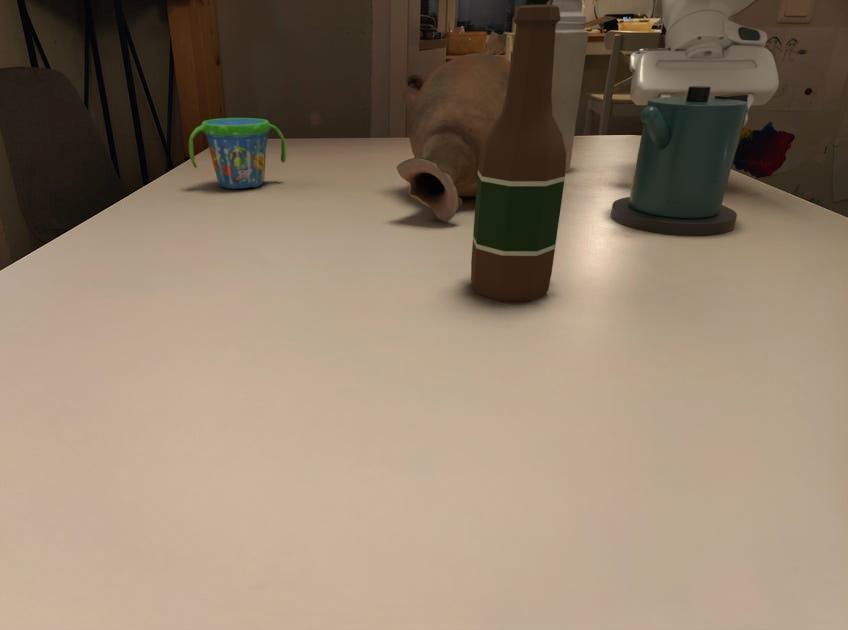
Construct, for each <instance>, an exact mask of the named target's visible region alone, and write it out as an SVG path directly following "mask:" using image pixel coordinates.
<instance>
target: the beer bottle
mask: <svg viewBox="0 0 848 630" xmlns="http://www.w3.org/2000/svg"><path fill="white" fill-rule="evenodd" d="M560 20H561V18H560V11H559V7H557V6H555V5H552V4H524V5H521V6H519V7H517V8H516V9H515V12H514V14H513V18H512V22H513V24H515V31H514V37H513V45H512V51H511V57H510V58H511V59H510V61H511V65H510V72H509V79H508V85H507V92H506V97H505V101H504V105H503V109H502V113H501V114H500V116H499V117H498V119H497V120H496V121H495V123H494V124H493V126H492V127H491V128H490V130H489V131H488V134H487V136H486V138H485V141H484V143H483V146H482V148H481V153H480V159H479V166H478V176H477V190H476V196H475V205H474V206H475V207H474V219H473V233H472V246H471V247H472V248H471V260H470V261H471V262H470V281H471V283H472V287H473V290H474V293H475V294H477V295H479V296H483V297H485V298H489V299H492V300H495V301H498V302H532V301H533V300H536V299H539V297H543V296H544V295H546V294H547V293H548V292H549V289H550V284H551V283H550V282H551V278H552V273H553V266H554V259H555V251H556V246H557V245H556V244H557V239H558V238H557V237H558V230H559V223H560V216H561V207H562V201H563V194H564V186H565V181H566V172H565V168H566V151H565V146H564V141H563V136H562V134H561V132H560V129H559V127H558V125H557V123H556V121H555V119H554V117H553V115H552V97H551V94H552V78H553V62H554V46H555V30H556V24H557V23H558V22H559V21H560Z"/></svg>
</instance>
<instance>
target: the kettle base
mask: <svg viewBox="0 0 848 630" xmlns="http://www.w3.org/2000/svg"><path fill="white" fill-rule="evenodd" d="M629 199H630V196H626V197H621V198H618V199H615V200H614V201H613V202H612V205H611V209H610V210H611V211H610V217H611V218H612V220H614V221H615V222H616V223H618V224H621V225H624V226H626V227H629V228H632V229H637V230H641V231H646V232H650V233H656V234H664V235H673V236H674V235H675V236H694V237H695V236H696V237H697V236H713V235H719V234H725V233H728V232H730V231H732V230H733V229H734V227H735V225H736V221H737V217H738V214H737V212H736V211H735V210H734V209H732V208H730V207H728V206H726V205H723V204H722V205H721V209H720V213H719V214H717V215H715V216H712V217H706V218H673V217H664V216H657V215H652V214H647V213H643V212H640V211H637V210H635V209H633V208H631V207H630V206H629Z"/></svg>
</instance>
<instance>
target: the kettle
mask: <svg viewBox="0 0 848 630" xmlns="http://www.w3.org/2000/svg"><path fill="white" fill-rule="evenodd" d="M710 89H711V87H707V86H690V87H689V89H688V94H687V97H666V98H653V99H649V100H648V104H647V105H646V107H645V108H644V109H642V111H641V113H640V120H641V122H642V124H643V125H642V131H641V135H640V141H639V147H638V152H637V157H636V162H635V166H634V167H635V168H634V173H633V178H632V184H631V188H630V194H629V197H630V199H629V206H630V207H631V208H633V209H635V210H637V211H640V212H643V213H647V214H652V215H657V216H664V217H673V218H706V217H712V216H715V215H717V214H719V213H720V209H721V205H723V201H724V197H725V193H726V190H727V187H728V186H727V185H728V183H729V179H730V174H731V171H732V168H733V166H734V163H735V159H736V154H737V152H738V148H739V144H740V141H741V136H742V132H743V129H744V127H743V125H744V121H745V117H746V113H747V114H748V111H749V109H748V103H747V98H748V95H747V94H730V95H719V96H715V98H709V94H710ZM747 110H748V111H747Z"/></svg>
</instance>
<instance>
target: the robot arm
mask: <svg viewBox="0 0 848 630" xmlns="http://www.w3.org/2000/svg"><path fill="white" fill-rule="evenodd" d="M759 1H760V0H661V18H662V24H663V26H664V29H665V30H666V31H665V34H664V47H656V48H648V47H642V48H639V49H638V50H636V51H633V52H632V53H631V54H630V55H629V58H628V66H629V70H630V72H631V73H632V76H631V83H630V100H631V101H632V102H633V104H635V105H636V106H647V104H648V100H649V99H653V98H666V97H687V94H688V89H689V87H690V86H707V87H711V89H710V94H709V98H715V96H719V95H730V94H747V95H748V98H747V103H748V110H747V113H746V117H745V121H744V125H743V128H744V127H745V126H746V124H747V123H748V121H749V115H748V111H749V109H750V107H751V106H759V107H760V106H764V105H765V104H766V103H768V102H769V101H770V100H771V99H772V98H773V96H774V95H775V94H776V92H777V90H778V89H779V85H780V79H779V73H778V68H777V64H776V61H775V58H774V56H773V54H772V52H771V51H770V50H769V49H768V48H766V47H765V46H766V44H767V42H768V34H767V33H766V32H765V31H764V30H760V29H757V28H753V27H748V26H744V25H742V24H739V23H736V22H734V21H732V20H729V18H731V17H732V18H733V17H735V16H737V15H739V14H741V13H743V12H744V11H746V10H747V9H749V8H750V7H751V6H753V5H755V4H756V3H758V2H759Z"/></svg>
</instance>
